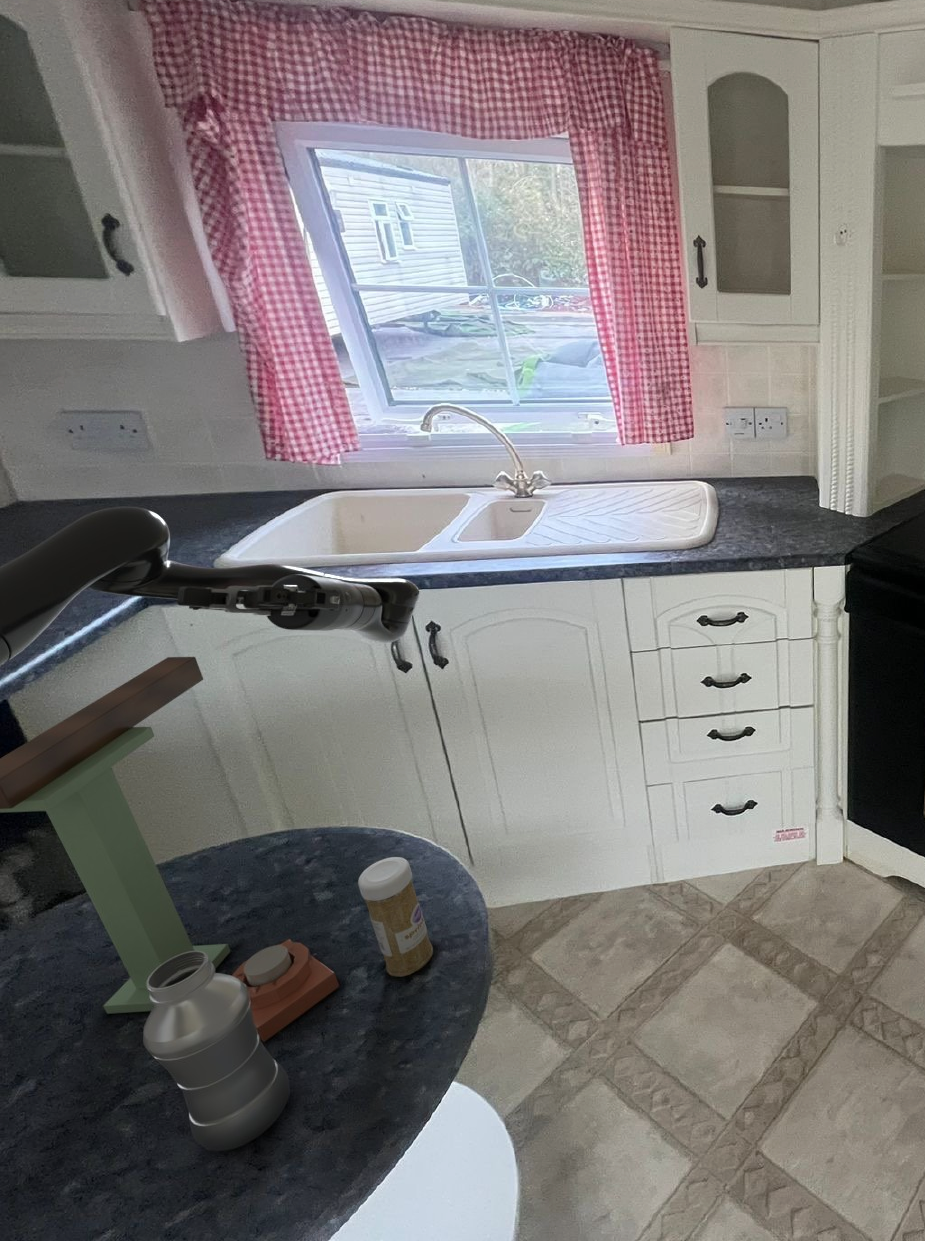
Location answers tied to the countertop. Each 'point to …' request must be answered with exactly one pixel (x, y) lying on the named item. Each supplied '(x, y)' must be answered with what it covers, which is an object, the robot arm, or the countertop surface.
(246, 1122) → the grey bottle
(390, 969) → the sprinkles bottle
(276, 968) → the push button
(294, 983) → the orange button pad
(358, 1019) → the countertop surface
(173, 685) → the brown wooden bar
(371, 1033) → the countertop surface
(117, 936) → the shelf stand
